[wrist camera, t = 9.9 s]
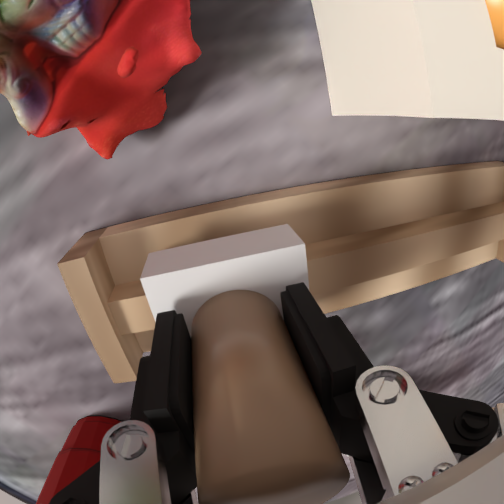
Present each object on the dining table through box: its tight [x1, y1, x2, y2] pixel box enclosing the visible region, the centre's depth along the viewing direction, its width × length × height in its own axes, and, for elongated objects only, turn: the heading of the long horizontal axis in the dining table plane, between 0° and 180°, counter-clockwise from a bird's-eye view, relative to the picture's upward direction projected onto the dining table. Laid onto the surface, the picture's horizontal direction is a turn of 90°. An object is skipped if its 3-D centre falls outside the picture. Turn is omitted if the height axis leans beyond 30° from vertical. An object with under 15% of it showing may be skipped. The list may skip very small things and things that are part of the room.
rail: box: [58, 161, 504, 383], centre depth 14 cm, size 24×6×4 cm, turn 99°
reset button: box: [485, 0, 504, 49], centre depth 7 cm, size 4×4×5 cm
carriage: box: [140, 224, 350, 504], centre depth 9 cm, size 5×5×9 cm
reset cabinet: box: [311, 0, 504, 120], centre depth 9 cm, size 12×10×7 cm
